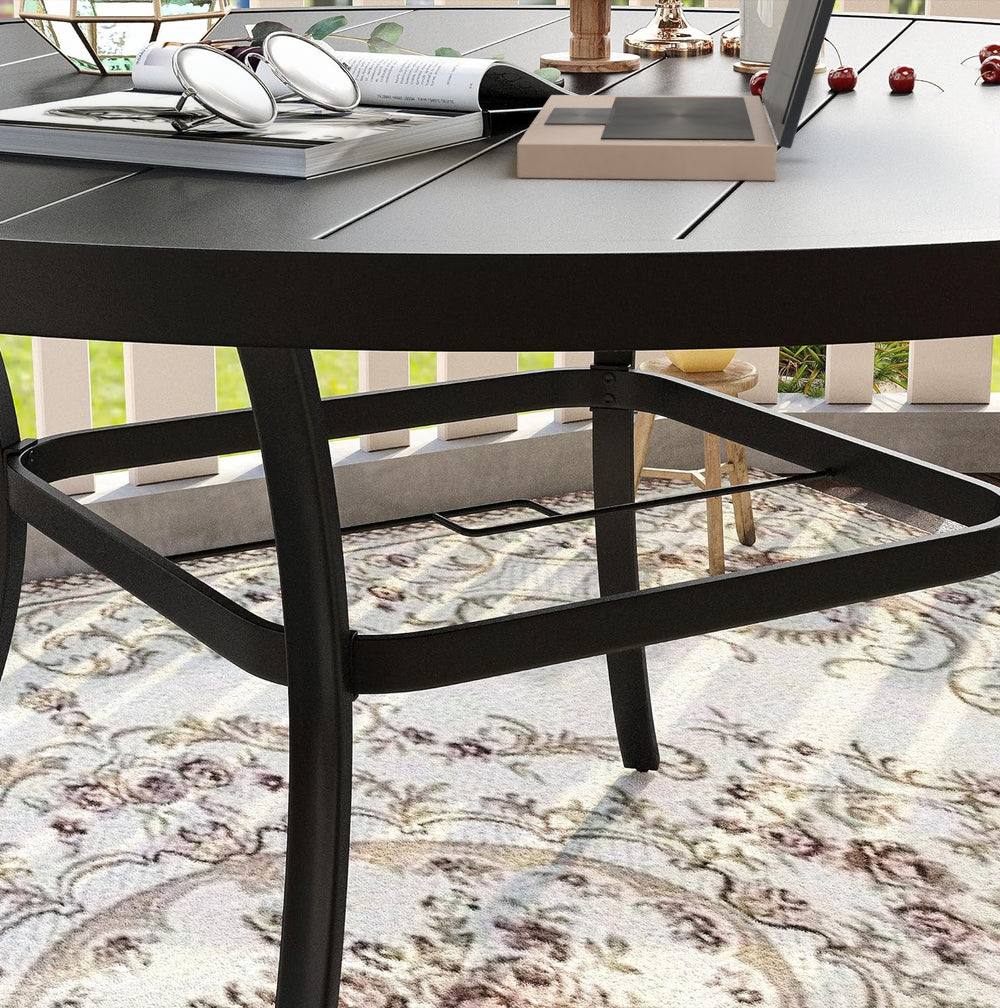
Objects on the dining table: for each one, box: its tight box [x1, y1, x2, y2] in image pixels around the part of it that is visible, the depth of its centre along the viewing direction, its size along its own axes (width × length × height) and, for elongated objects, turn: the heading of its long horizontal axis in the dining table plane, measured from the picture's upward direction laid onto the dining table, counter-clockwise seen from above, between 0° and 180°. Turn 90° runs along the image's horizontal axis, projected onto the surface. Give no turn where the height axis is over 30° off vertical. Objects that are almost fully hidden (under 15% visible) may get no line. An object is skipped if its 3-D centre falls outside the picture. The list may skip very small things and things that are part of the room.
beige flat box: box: [516, 94, 778, 182], centre depth 91 cm, size 15×22×2 cm
